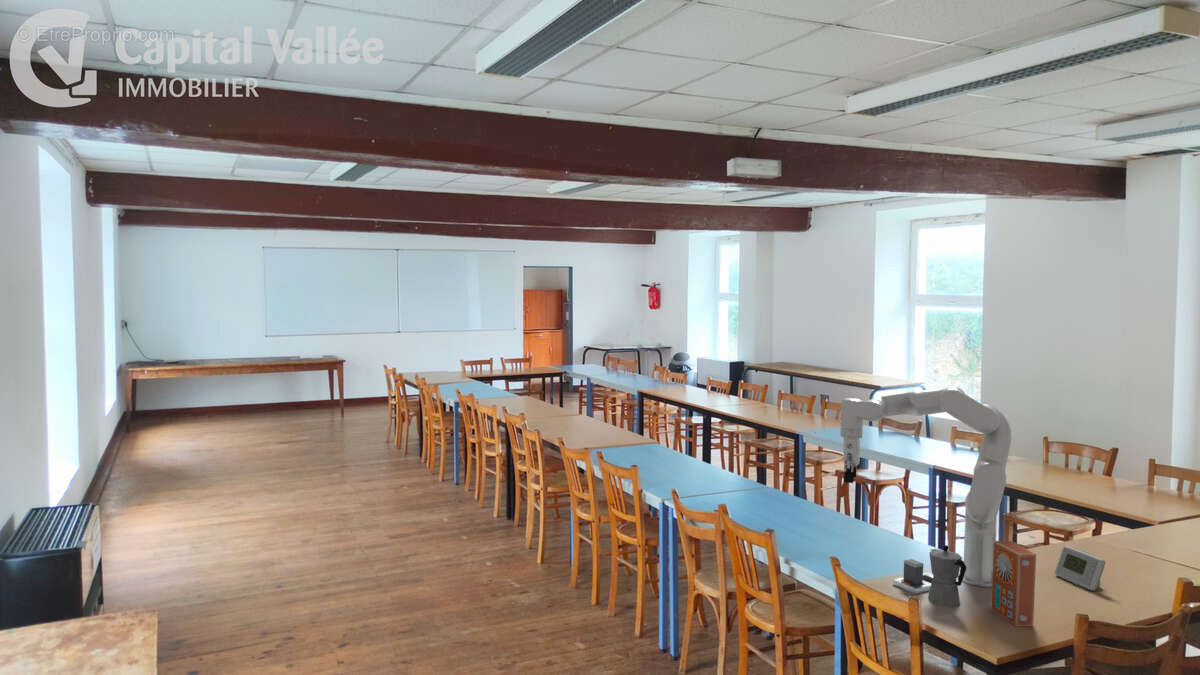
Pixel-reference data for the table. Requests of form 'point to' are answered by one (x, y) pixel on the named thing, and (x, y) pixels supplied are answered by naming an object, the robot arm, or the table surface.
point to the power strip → (918, 589)
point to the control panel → (1013, 583)
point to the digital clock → (1080, 568)
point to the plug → (913, 572)
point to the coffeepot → (946, 576)
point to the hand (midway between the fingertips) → (850, 479)
